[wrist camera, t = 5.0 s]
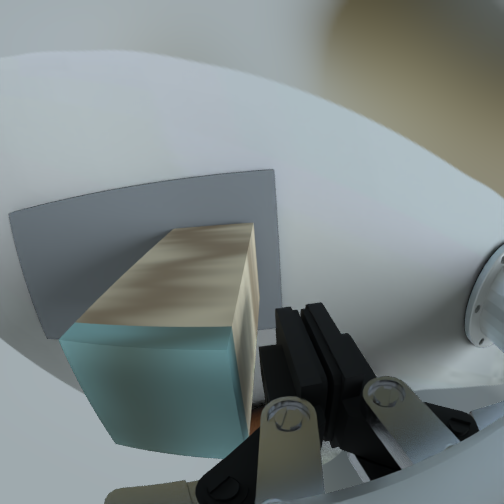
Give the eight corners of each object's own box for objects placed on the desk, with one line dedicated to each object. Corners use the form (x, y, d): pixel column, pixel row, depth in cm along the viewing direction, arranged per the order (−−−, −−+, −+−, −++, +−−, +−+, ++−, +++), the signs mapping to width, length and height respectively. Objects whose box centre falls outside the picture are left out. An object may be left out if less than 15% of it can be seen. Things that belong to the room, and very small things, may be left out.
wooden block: (253, 222, 18) (226, 350, 6) (259, 297, 19) (247, 459, 8) (173, 228, 18) (58, 339, 7) (186, 299, 20) (115, 443, 9)
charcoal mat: (272, 169, 18) (274, 169, 18) (281, 322, 22) (282, 327, 21) (12, 212, 17) (8, 213, 17) (50, 334, 21) (47, 338, 20)
